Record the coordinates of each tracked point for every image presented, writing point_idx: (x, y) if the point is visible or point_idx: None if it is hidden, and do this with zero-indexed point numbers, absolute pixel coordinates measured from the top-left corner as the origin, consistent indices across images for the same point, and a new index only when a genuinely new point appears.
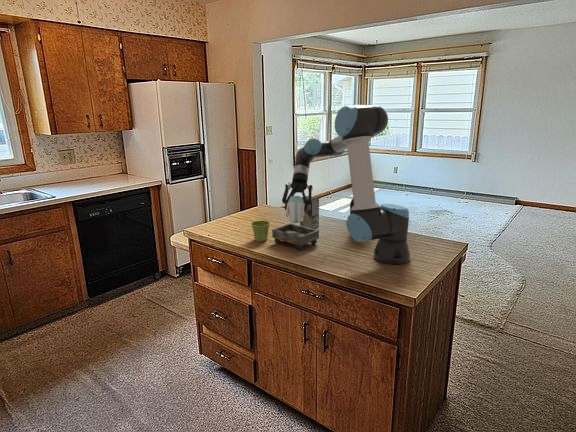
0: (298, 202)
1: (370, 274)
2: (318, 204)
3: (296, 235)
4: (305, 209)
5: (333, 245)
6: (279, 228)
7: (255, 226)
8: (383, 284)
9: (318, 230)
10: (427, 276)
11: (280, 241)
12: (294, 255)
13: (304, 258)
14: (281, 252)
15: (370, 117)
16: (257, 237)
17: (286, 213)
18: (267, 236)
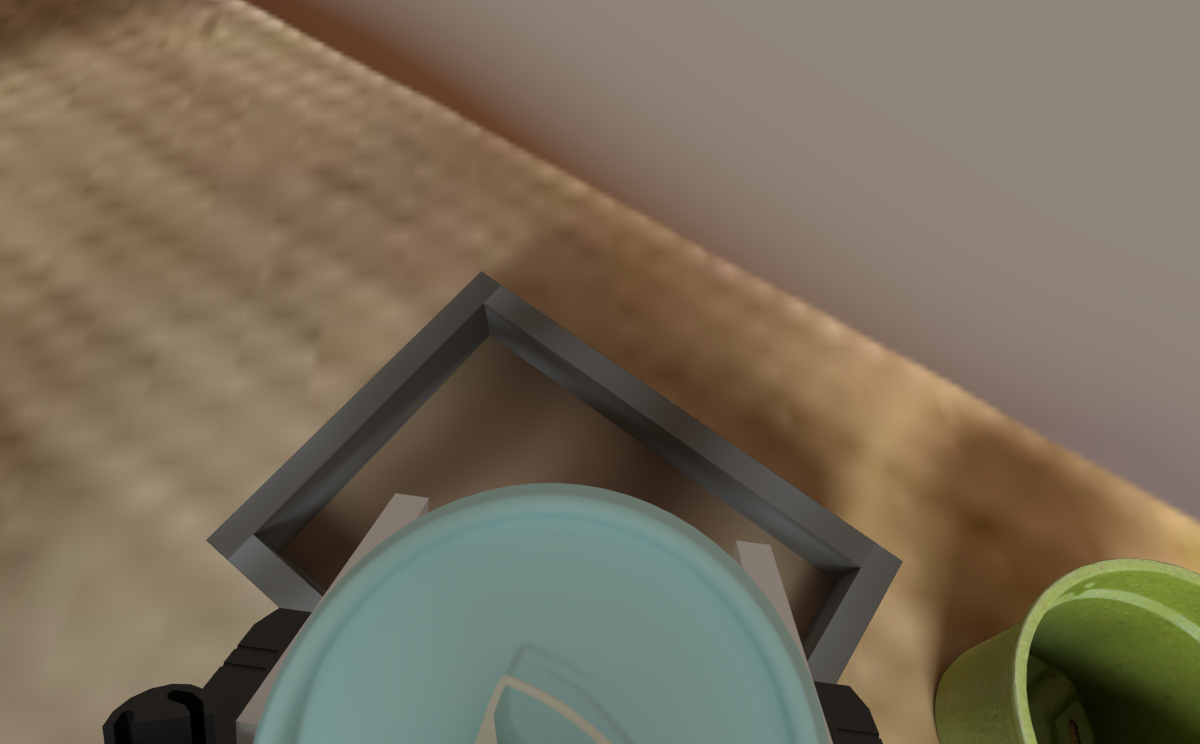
0: (448, 505)
1: (45, 20)
2: None
3: (537, 335)
4: (291, 613)
5: (117, 552)
6: (813, 646)
7: (1181, 569)
8: None
9: (213, 536)
10: None
11: None
12: (558, 288)
13: (471, 234)
14: (683, 349)
15: None
16: (1056, 638)
17: (756, 553)
18: (950, 723)
